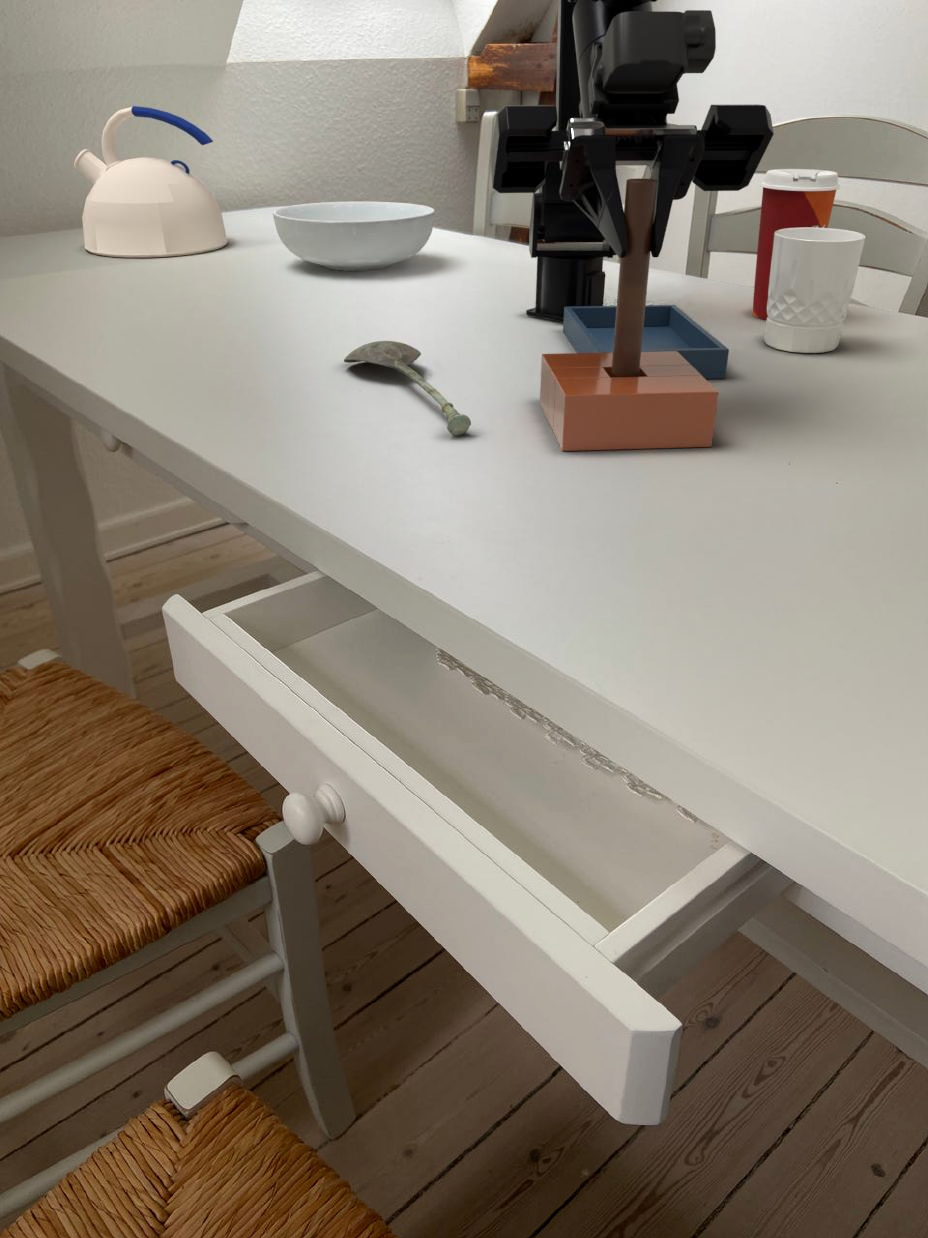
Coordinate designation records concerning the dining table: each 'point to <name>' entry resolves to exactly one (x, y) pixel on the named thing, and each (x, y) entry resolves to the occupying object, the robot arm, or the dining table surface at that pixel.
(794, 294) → the white cup
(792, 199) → the paper cup
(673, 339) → the tray
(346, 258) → the serving bowl
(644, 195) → the walnut stick
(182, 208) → the kettle
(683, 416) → the stick holder base
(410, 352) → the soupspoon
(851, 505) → the dining table surface
